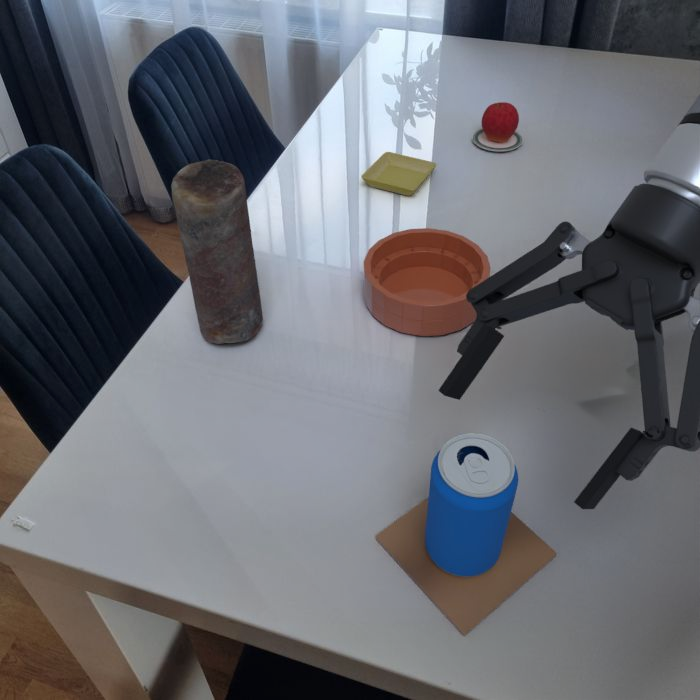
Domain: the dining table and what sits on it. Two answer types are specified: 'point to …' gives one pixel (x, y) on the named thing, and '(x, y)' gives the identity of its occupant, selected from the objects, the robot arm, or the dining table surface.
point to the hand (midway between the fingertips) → (511, 446)
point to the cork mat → (457, 591)
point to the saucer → (398, 173)
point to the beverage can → (469, 504)
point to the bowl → (423, 280)
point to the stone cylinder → (218, 250)
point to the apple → (499, 128)
